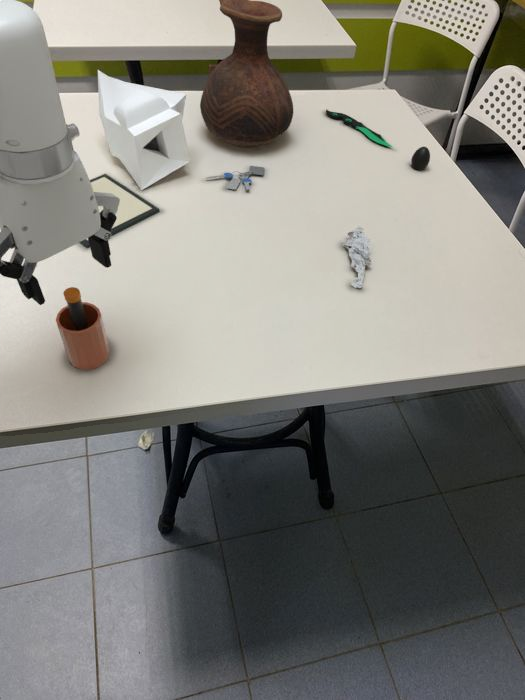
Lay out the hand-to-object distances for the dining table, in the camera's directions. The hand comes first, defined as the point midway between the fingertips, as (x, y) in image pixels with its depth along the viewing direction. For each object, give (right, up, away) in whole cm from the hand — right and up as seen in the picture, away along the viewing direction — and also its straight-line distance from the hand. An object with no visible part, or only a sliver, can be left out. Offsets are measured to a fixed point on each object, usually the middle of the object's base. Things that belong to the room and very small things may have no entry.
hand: (70, 279), depth 62 cm
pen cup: (-1, -10, +11) cm, 15 cm away
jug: (+20, +44, +59) cm, 76 cm away
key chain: (+20, +28, +45) cm, 56 cm away
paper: (+42, +7, +30) cm, 52 cm away
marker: (-1, -9, +10) cm, 14 cm away
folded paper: (-2, +34, +48) cm, 58 cm away
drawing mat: (-8, +19, +34) cm, 40 cm away
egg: (+62, +35, +56) cm, 90 cm away
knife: (+49, +48, +66) cm, 95 cm away
